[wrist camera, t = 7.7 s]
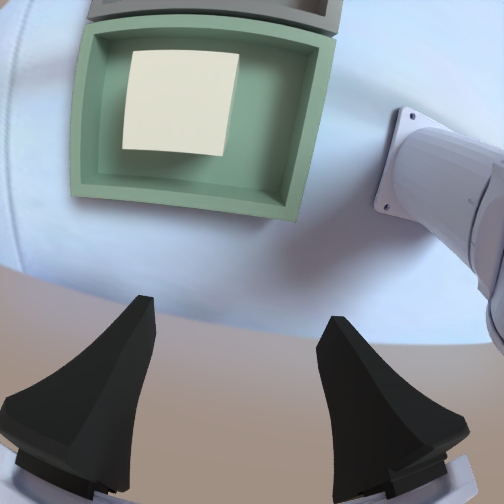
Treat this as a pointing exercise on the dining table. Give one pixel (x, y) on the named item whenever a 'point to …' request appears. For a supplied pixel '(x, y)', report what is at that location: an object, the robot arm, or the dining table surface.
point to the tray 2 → (241, 125)
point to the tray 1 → (231, 11)
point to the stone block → (180, 101)
